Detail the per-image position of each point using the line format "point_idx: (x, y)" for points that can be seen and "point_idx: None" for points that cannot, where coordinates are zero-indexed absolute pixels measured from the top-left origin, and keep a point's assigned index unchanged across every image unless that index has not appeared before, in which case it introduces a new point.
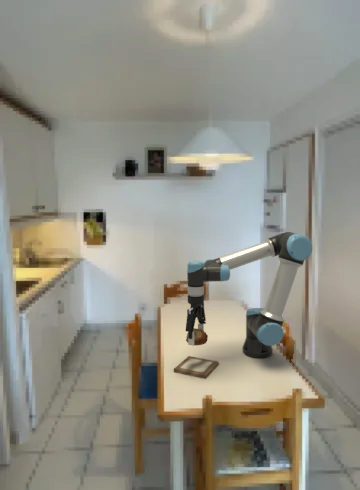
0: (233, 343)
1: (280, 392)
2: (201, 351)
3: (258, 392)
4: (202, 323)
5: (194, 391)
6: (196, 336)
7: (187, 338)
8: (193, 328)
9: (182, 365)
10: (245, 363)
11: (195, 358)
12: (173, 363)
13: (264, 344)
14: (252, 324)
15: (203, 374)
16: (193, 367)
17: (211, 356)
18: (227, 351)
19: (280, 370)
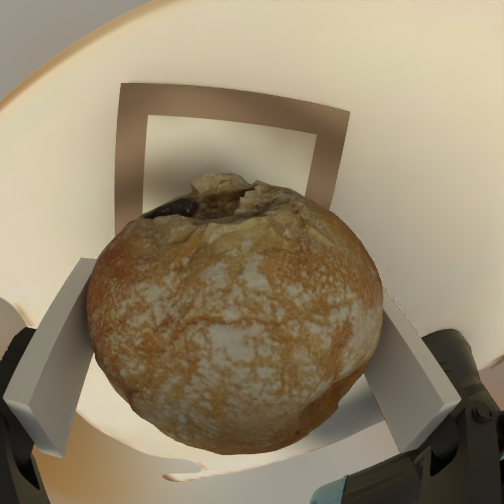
0: (497, 280)
1: (162, 451)
2: (442, 165)
3: (131, 423)
4: (432, 443)
5: (13, 265)
6: (126, 400)
7: (99, 266)
8: (40, 495)
9: (188, 115)
10: None
11: (321, 165)
12: (247, 34)
13: (317, 489)
14: (415, 498)
15: None
16: (180, 195)
17: (391, 231)
18: (440, 283)
19: None
